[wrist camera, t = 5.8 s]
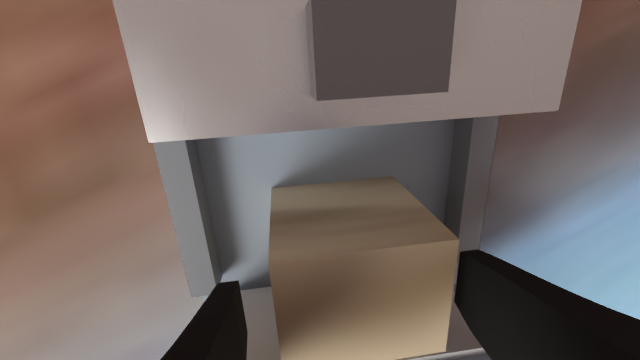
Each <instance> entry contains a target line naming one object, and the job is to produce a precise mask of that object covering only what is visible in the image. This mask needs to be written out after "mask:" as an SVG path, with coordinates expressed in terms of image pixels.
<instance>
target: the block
mask: <svg viewBox="0 0 640 360" xmlns="http://www.w3.org/2000/svg"><path fill="white" fill-rule="evenodd" d="M458 247H459V238H458V237H456V236H455V235H454V234H453V233H452V232H451V231H450V230H449V229H448V228H447V227H446V226H445V225H444V224H443V223H442V222H441V221H440V220H438V219H437V218H436V217H435V216H434V215H433V214H432V213H431V212H430V211H429V210H428V209H427V208H426V207H425V206H424V205H423V204H422V203H420V202H419V201H418V200H417V199H416V198H415V197H414V196H413V195H412V194H411V193H410V192H409V191H408V190H407V189H406V188H405V187H404V186H402V185H401V184H400V183H399V182H398V181H397V180H396V179H395V178H394V177H393V176H391V177H380V178H370V179H360V180H350V181H339V182H329V183H319V184H309V185H298V186H288V187H278V188H271V208H270V232H269V256H268V265H269V273H270V280H271V288H272V295H273V303H274V310H275V318H276V325H277V333H278V340H279V348H280V355H281V360H396V359H402V358H408V357H414V356H421V355H427V354H433V353H439V352H445V351H446V344H447V336H448V328H449V320H450V312H451V304H452V296H453V288H454V280H455V272H456V263H457V255H458Z"/></svg>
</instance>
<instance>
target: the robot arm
mask: <svg viewBox="0 0 640 360" xmlns="http://www.w3.org/2000/svg"><path fill="white" fill-rule="evenodd" d="M454 302H455V304H456V306H457V308H458V310H459V311H460V313H461V315H462V317H463V319H464V320H465V322H466V324H467V326H468V327H469V329H470V331H471V332H472V334H473V335H474V336H475V338H476V339H477V341H478V342H479V343H480V345H481V346H482V348H483V349H484V350H485V352H486V353H487V354H488V356H489V357H490V358H491V360H640V320H639V319H636V318H633V317H631V316H628V315H625V314H623V313H620V312H617V311H615V310H612V309H610V308H607V307H605V306H602V305H600V304H598V303H595V302H593V301H591V300H588V299H586V298H584V297H581V296H579V295H576V294H574V293H572V292H570V291H567V290H565V289H563V288H561V287H558V286H556V285H554V284H552V283H550V282H548V281H545V280H543V279H541V278H539V277H537V276H535V275H533V274H531V273H528V272H526V271H524V270H522V269H520V268H518V267H516V266H514V265H512V264H510V263H507V262H505V261H503V260H501V259H499V258H497V257H495V256H492V255H490V254H488V253H485V252H483V251H480V250H478V249H477V250H469V251H461V252H460V257H459V265H458V273H457V282H456V290H455V298H454ZM247 337H248V331H247V325H246V319H245V314H244V308H243V302H242V297H241V291H240V285H239V280H237V281H229V282H222V283H218V284H217V285H216V286H215V287H214V289H213V290H212V292H211V293H210V295H209V296H208V298H207V299H206V300H205V302H204V303H203V305H202V306H201V308H200V309H199V310H198V312H197V313H196V315H195V316H194V317H193V319H192V320H191V321H190V323H189V324H188V325H187V327H186V328H185V329H184V331H183V332H182V333H181V335H180V336H179V337H178V339H177V340H176V341H175V343H174V344H173V345H172V346H171V348H170V349H169V350H168V351H167V352H166V354H165V355H164V356H163V357H162V358H161V360H246V358H247Z"/></svg>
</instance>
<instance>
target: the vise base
mask: <svg viewBox="0 0 640 360" xmlns="http://www.w3.org/2000/svg"><path fill="white" fill-rule="evenodd" d="M498 122H499V115H498V116H486V117H473V118H460V119H448V120H435V121H422V122H409V123H397V124H384V125H371V126H359V127H346V128H333V129H320V130H308V131H295V132H282V133H270V134H257V135H244V136H231V137H219V138H206V139H193V140H181V141H168V142H155V143H153V146H154V150H155V154H156V158H157V162H158V166H159V170H160V174H161V178H162V182H163V186H164V190H165V194H166V198H167V202H168V206H169V210H170V214H171V218H172V222H173V226H174V230H175V234H176V238H177V242H178V246H179V250H180V254H181V258H182V262H183V266H184V270H185V274H186V278H187V282H188V286H189V290H190V294H191V297H198V296H203V299H204V302H205V300H206V299H207V298H208V296H209V295H210V293H211V292H212V290H213V289H214V287H215V286H216V285H217V284H218V283H222V282H229V281H237V280H239V285H240V291H241V297H242V302H243V308H244V314H245V319H246V325H247V331H248V337H247V358H246V360H281V355H280V348H279V340H278V333H277V325H276V318H275V310H274V303H273V295H272V288H271V280H270V273H269V265H268V256H269V232H270V208H271V188H278V187H288V186H298V185H309V184H319V183H329V182H339V181H350V180H360V179H370V178H380V177H391V176H393V177H394V178H395V179H396V180H397V181H398V182H399V183H400V184H401V185H402V186H404V187H405V188H406V189H407V190H408V191H409V192H410V193H411V194H412V195H413V196H414V197H415V198H416V199H417V200H418V201H419V202H420V203H422V204H423V205H424V206H425V207H426V208H427V209H428V210H429V211H430V212H431V213H432V214H433V215H434V216H435V217H436V218H437V219H438V220H440V221H441V222H442V223H443V224H444V225H445V226H446V227H447V228H448V229H449V230H450V231H451V232H452V233H453V234H454V235H455V236H456V237H458V238H459V247H458V255H457V263H456V272H455V280H454V288H453V296H452V304H451V312H450V320H449V328H448V336H447V344H446V351H445V352H439V353H433V354H427V355H421V356H414V357H408V358H402V359H396V360H491V358H490V357H489V356H488V354H487V353H486V352H485V350H484V349H483V348H482V346H481V345H480V343H479V342H478V341H477V339H476V338H475V336H474V335H473V334H472V332H471V331H470V329H469V327H468V326H467V324H466V322H465V320H464V319H463V317H462V315H461V313H460V311H459V310H458V308H457V306H456V304H455V302H454V298H455V290H456V282H457V273H458V265H459V257H460V252H461V251H469V250H477V249H478V250H479V247H480V240H481V234H482V227H483V221H484V214H485V207H486V201H487V194H488V188H489V181H490V174H491V168H492V161H493V155H494V148H495V142H496V135H497V128H498Z"/></svg>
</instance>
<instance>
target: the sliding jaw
mask: <svg viewBox="0 0 640 360" xmlns="http://www.w3.org/2000/svg"><path fill="white" fill-rule="evenodd" d="M113 4H114V8H115V12H116V16H117V20H118V24H119V28H120V32H121V36H122V40H123V44H124V48H125V52H126V55H127V59H128V63H129V67H130V71H131V75H132V79H133V83H134V87H135V91H136V95H137V99H138V103H139V107H140V110H141V114H142V118H143V122H144V126H145V130H146V134H147V138H148V142H149V143H155V142H168V141H181V140H193V139H206V138H219V137H231V136H244V135H257V134H270V133H282V132H295V131H308V130H320V129H333V128H346V127H359V126H371V125H384V124H397V123H409V122H422V121H435V120H448V119H460V118H473V117H486V116H498V115H511V114H524V113H537V112H549V111H558V110H559V106H560V101H561V97H562V92H563V87H564V83H565V78H566V74H567V69H568V64H569V60H570V55H571V51H572V46H573V42H574V37H575V32H576V28H577V23H578V19H579V14H580V9H581V5H582V0H113Z"/></svg>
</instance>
